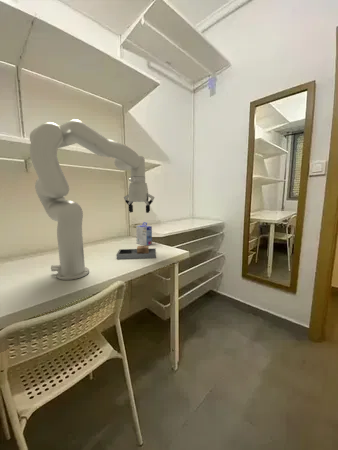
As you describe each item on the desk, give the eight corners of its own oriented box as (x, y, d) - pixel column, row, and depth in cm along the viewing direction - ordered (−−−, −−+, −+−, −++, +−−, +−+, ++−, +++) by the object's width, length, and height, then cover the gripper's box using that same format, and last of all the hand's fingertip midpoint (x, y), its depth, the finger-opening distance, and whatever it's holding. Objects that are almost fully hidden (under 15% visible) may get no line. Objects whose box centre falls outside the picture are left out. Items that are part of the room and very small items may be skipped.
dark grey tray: (116, 259, 110) (116, 254, 110) (119, 253, 120) (119, 249, 120) (155, 257, 111) (155, 253, 111) (155, 252, 121) (155, 248, 121)
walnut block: (137, 257, 113) (136, 248, 112) (137, 254, 118) (137, 245, 117) (148, 257, 114) (148, 248, 113) (148, 254, 119) (148, 245, 118)
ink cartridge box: (152, 244, 141) (152, 222, 138) (146, 245, 136) (146, 223, 134) (142, 242, 147) (141, 221, 144) (136, 243, 142) (135, 222, 140)
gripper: (120, 180, 110) (121, 212, 113) (151, 179, 106) (152, 213, 109) (126, 181, 118) (127, 211, 120) (155, 180, 113) (156, 212, 116)
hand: (139, 212), depth 114 cm, fingers open, 9 cm apart
